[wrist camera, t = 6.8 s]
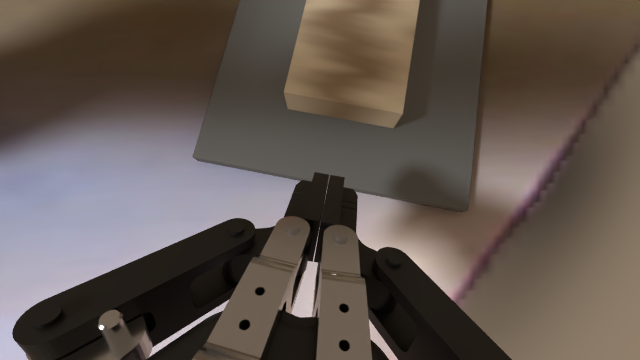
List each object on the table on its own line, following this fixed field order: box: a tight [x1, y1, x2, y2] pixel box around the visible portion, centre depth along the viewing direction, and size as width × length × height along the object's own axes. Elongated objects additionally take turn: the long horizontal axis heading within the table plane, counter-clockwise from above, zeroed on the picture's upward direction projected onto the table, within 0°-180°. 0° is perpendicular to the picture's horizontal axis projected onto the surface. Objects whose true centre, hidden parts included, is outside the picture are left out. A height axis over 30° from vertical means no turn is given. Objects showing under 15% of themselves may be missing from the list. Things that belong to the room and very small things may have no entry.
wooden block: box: [284, 0, 420, 128], centre depth 22 cm, size 8×2×14 cm
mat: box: [193, 0, 487, 212], centre depth 24 cm, size 20×26×1 cm
